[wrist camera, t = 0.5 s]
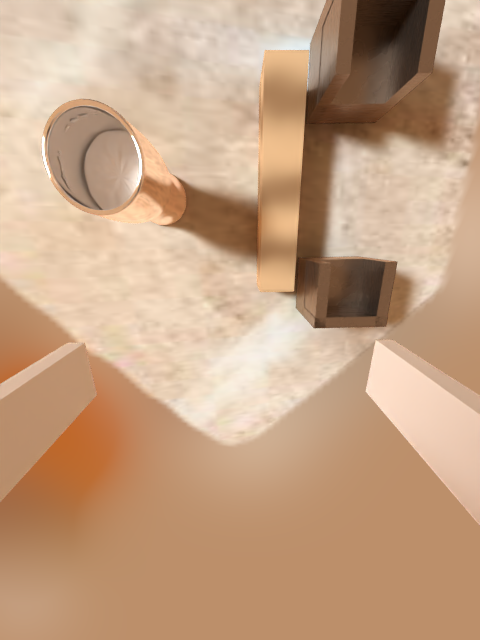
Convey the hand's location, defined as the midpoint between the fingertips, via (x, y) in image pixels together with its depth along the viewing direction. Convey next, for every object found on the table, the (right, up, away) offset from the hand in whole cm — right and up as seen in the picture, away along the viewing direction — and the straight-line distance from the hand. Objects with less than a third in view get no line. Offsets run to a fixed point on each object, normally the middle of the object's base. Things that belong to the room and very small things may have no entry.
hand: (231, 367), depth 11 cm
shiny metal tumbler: (-9, +17, +19) cm, 27 cm away
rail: (+5, +18, +19) cm, 26 cm away
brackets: (+12, +18, +19) cm, 29 cm away
